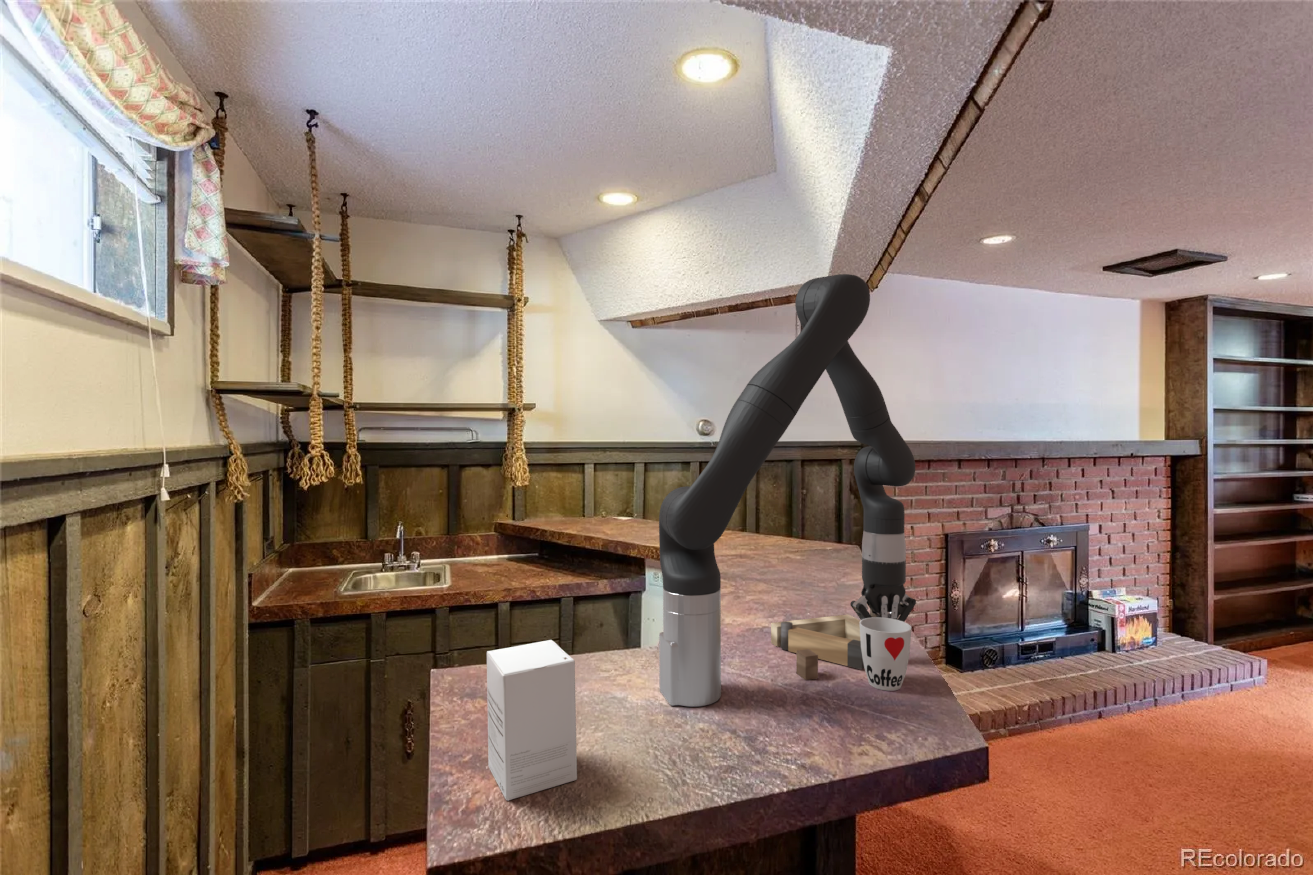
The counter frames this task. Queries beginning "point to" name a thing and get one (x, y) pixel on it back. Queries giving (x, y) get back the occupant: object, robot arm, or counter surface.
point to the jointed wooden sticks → (828, 625)
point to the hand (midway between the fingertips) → (883, 650)
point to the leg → (822, 645)
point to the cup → (885, 651)
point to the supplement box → (531, 718)
